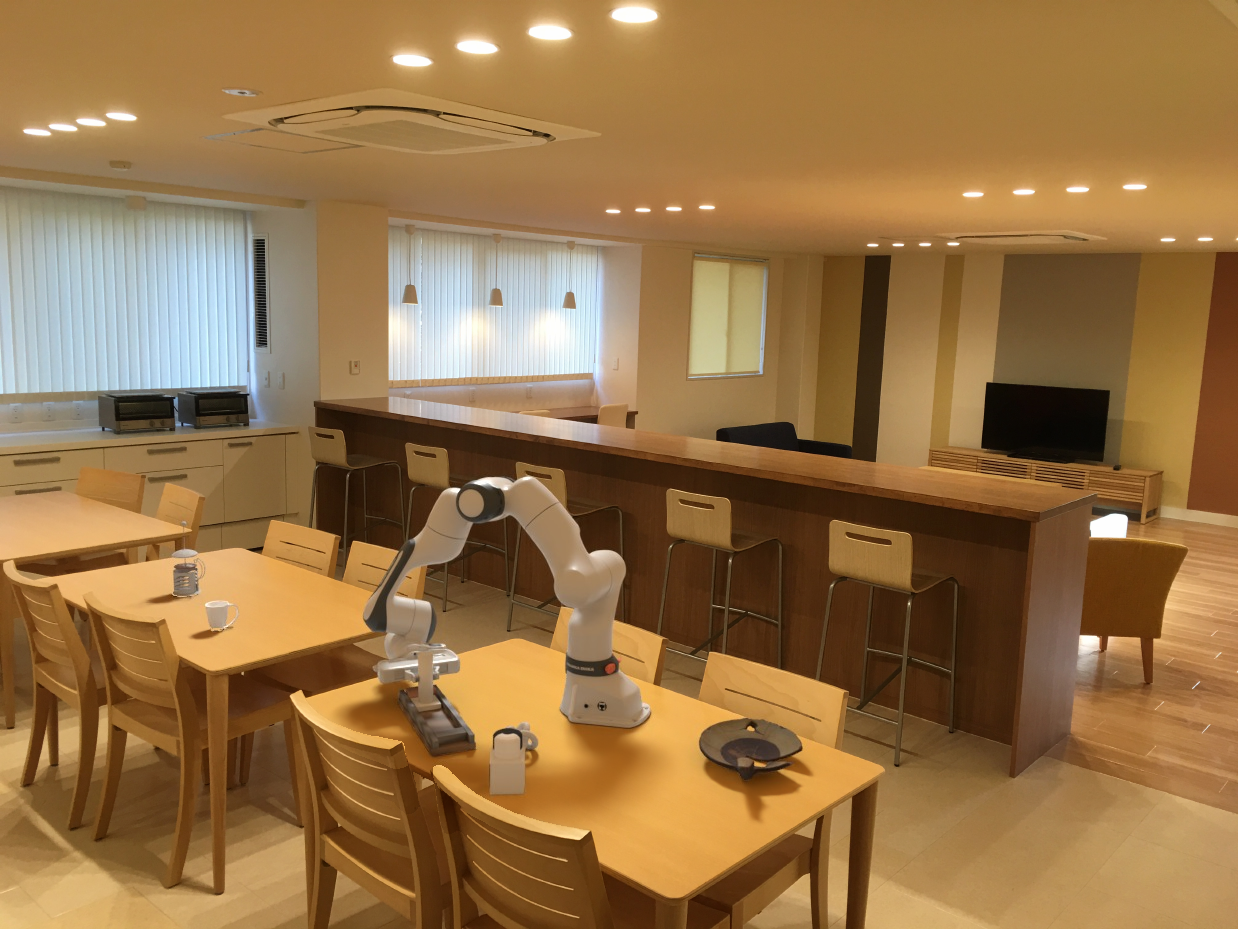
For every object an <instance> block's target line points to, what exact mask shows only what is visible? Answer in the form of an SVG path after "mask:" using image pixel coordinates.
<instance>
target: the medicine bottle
mask: <svg viewBox="0 0 1238 929" xmlns="http://www.w3.org/2000/svg"><path fill="white" fill-rule="evenodd" d="M522 737H523V735H522V733H521V732H520V731H519V730H517V729H513V728H506V727H505V728H499V729H497V730H496V731H494V733H493V734H492V747H491V748H490V755H489V762H488V763H489V766H488V768H489V770H488V778H489V780H488V781H489V782H488V783H489V785H488V786H489V788H488V793H489V795H490V796H495V795H497V796H500V795H503V796H504V795H506V796H507V795H524V794H525V793H526V792H525V788H526V787H525V783H526V780H525V779H526V750H525V747H522Z"/></svg>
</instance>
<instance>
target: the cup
mask: <svg viewBox="0 0 1238 929" xmlns="http://www.w3.org/2000/svg"><path fill="white" fill-rule="evenodd" d="M204 605H205V606H204V607H205V610H206V616H207V621H208V623H209V624H208V625H209V627H210V629H211V628H212V629H213V628H223V629H225V630H226V628H225V627H228V628H229V627H230V626H232V625H233V624H234V623H235V622H236V620H238V618H239V616H240V615H239V613H240V611H239V609H238V606H237V605H236V604H234V603H229V601H227V600H212V601H209V602H206V603H205V604H204ZM232 606H234V608H235V611H236V615H235V617H234V619H232V621H231V622H230V623H228V624H227V620H228V614H229V607H232ZM223 629H220V630H223ZM214 631H218V630H214ZM223 631H224V630H223Z"/></svg>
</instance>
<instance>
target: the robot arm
mask: <svg viewBox="0 0 1238 929" xmlns="http://www.w3.org/2000/svg"><path fill="white" fill-rule="evenodd" d="M507 517H513V518H514V519H516V521H517V522H518V523H519V524H520V526H521V527H522V528H523V530H524V531H525V532H526V534H527V535H528V536H529V538H530V539H531V540H532V541H533V542H534V544H535V545H536V547H537V548H538V549H539V550H540V552H541V554H543V557H544V558H545V560H546V562H547V564H548V566H549V569H550V571H551V574H552V576H553V580H554V583H553V589H554V590H553V591H554V593H555V597H556V598H557V600H558V601H559V602H560V603H561V604H562V605H564V606H565V607H568V608H570V609H572V613H571V616H570V617H569V620H568V624H567V651H566V652H565V661H564V667H565V668H564V670H565V682H564V683H565V684H564V690H563V694H562V699H561V702H560V704H559V710H560V711H561V713H562V714H563V715H565V716H566V717H567V718H568V720H569V721H570V722H571V723H578V724H587V725H598V726H605V727H606V726H607V727H616V728H625V729H626V728H627V729H630V728H634V727H637V726H638V725H641V724H642V723H644V722H645V721H646V720H647V719H648V718H649V717H650V715H651V706H650V704H648V703H646V702H643V701H642V700H643V699H642V692H641V690H640V687H639V685H638V684H637V683H635V682H634V681H633V680H631V678H630V677H628V676H627V675H626V673H623V672H622V670H620V668H619V666H620V663H621V662H622V657H621V656H620V657H618V658H617V657H616V656H615V655H614V653H613V638H614V637H613V635H614V634H613V633H614V622H615V616H616V611H617V606H618V602H619V596H620V591H621V587H622V584H623V581H624V579H625V577H626V573H627V566H626V562H625V561H624V559H623V558H622V556H621V555H620V554H619V553H618V552H616V551H613V550H609V549H602V550H601V549H600V550H595V551H592V552H590V553H589V552H588V551H587V549H586V547H585V545H584V543H583V540H582V538H581V528H580V526H579V524H578V523H577V521H575V519H574V518H573V516H572V515H571V514H570V513H569V511H568V510H566V508H565V507H564V505H563V504H562V503H561V502H560V501H559V499H558V498H557V497H556V496H555V495H554V494H553V492H552V491H550V490H549V489H548V487H546V486H545V485H544V484H543V483H542V482H541V481H539V480H538V479H537V478H536V477H534V476H523V477H520V478H518V479H516V480H515V479H513V478H512V477H508V476H503V475H502V476H501V475H500V476H494V477H491V476H489V477H488V476H485V477H483V478H479V479H477V480H476V479H475V480H474V479H473V480H471V481H469V482H467V483H465V484H464V485H463V486H462V487H461V488H459V487H449V488H446V489H445V490H443V491H442V492H441V494H440V495H439V496H438V499H436V501H435V503H434V505H433V507H432V510H431V512H430V513H429V515H428V517H427V520H426V523H425V526H424V527H423V528H422V530H421V531H419V533H418V534H417V535H416V536H415V537H413V538H410V539H407V540H406V541H405V542H404V544H402V546H401V548H400V549H399V551H397V554H396V556H395V557H394V559H393V560H392V562H391V564H390V565H389V567H388V568H387V571H386V572H385V573H384V576H383V577H382V579H381V580H380V582H379V584H378V586H377V588H375V590H374V591H373V593H372V594H371V595H370V597H369V598H368V600H367V601H366V604H365V605H364V608H363V615H362V619H363V622H364V623H365V625H366V626H367V627H368V629H369V630H370V631H371V632H373V633H374V632H375V633H387V634H386V635H385V638H384V644H383V646H384V651H385V653H386V656H387V658H388V659H383V660H379V661H378V662H377V664H374V665H372V669H373V671H374V672H375V673H377V678H378V681H379V683H382V684H391V683H398V682H403V681H409V682H411V683H413V684H416V683H417V684H418V682H419V675H418V653H420V652H424V651H429V652H432V653H433V681H437V680H440V676H445V675H453V674H458V673H459V672H460V671H461V659H460V657H459V655H457V654H456V653H455V651H453V650H451V649H449V648H447V645H446V644H445V643H432V642H431V643H429V642H430V641H431V640H432V638H433V636H434V635H435V634H434V633H435V631H436V628H437V624H438V623H437V621H438V620H437V619H438V618H437V613H436V610H435V608H434V606H433V605H432V603H431V602H429V601H426V600H422V599H417V598H410V597H404V596H399V595H396V594H397V593H398V591H399V589H400V587H401V585H402V583H403V582H404V580H405V578H406V577H407V575H409V573H410V572H412V571H413V570H414V569H415V570H416V569H417V568H421V567H424V566H430V565H441V564H443V563H447V562H450V561H452V560H454V559H455V558H457V557H458V556H459V555H460V554H461V552H462V550H463V548H464V546H465V544H466V543H467V542H466V541H467V538H468V536H469V534H470V530H471V528H472V527H473V524H484V523H488V522H497V521H499V520H503V519H505V518H507Z"/></svg>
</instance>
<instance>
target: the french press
mask: <svg viewBox="0 0 1238 929" xmlns="http://www.w3.org/2000/svg"><path fill="white" fill-rule="evenodd" d="M186 525H188V524H187V521H181V522H180V526H183V528H182V529H183V531H182V532H183V533H185V526H186ZM185 544H186V541H185V538H183V549H180V550H177V551H174V552H173V553H172V554H171V557H172V558H175V559H189V558H193V557H197V555H199V552H197V551H196V550H193V549H191V548H189V549H188V548H186V546H185ZM199 560H200V561H199ZM197 563H199V565H200V567H201V569H203V568H204V571H203V570H201V575H200V576H199V569H198V567H197V566H198V565H197ZM201 563H202V564H201ZM202 565H203V566H204V567H203V566H202ZM173 568H174V569H173V570H172V573H173V574H172V576H173V594H174V595H177V596H190V595H195V594H199V593H200V592H201V591H202V590H201V589H200V587H199V580H200V579H203V577H205V574H206V566H205V562H204V561H203V560H202V559H201V558H199V557H197V558H195V559H193V562H186V561H184V563H177V564H175V565H174V566H173ZM199 595H200V594H199Z"/></svg>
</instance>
